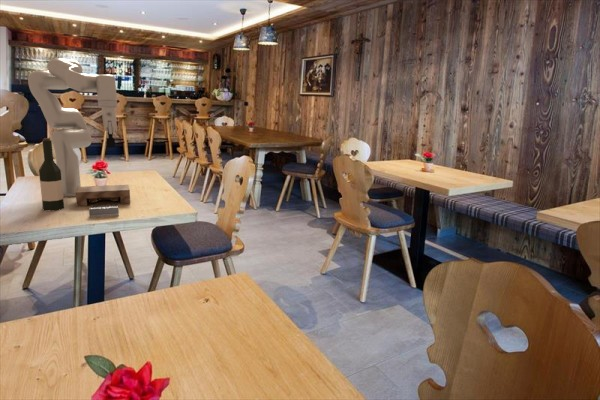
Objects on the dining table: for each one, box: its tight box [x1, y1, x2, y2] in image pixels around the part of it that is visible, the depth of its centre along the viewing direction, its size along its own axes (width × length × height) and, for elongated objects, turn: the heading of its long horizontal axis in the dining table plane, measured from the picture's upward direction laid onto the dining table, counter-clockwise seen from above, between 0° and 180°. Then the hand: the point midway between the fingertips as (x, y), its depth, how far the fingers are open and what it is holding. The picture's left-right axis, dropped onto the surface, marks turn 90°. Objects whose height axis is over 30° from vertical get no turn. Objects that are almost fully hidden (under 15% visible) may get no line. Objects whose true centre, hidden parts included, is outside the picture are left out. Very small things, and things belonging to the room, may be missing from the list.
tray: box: [88, 203, 120, 219], centre depth 187 cm, size 11×16×4 cm
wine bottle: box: [38, 137, 65, 211], centre depth 186 cm, size 8×8×30 cm
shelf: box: [75, 184, 131, 208], centre depth 202 cm, size 22×12×6 cm, turn 114°
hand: (111, 147), depth 193 cm, fingers closed
